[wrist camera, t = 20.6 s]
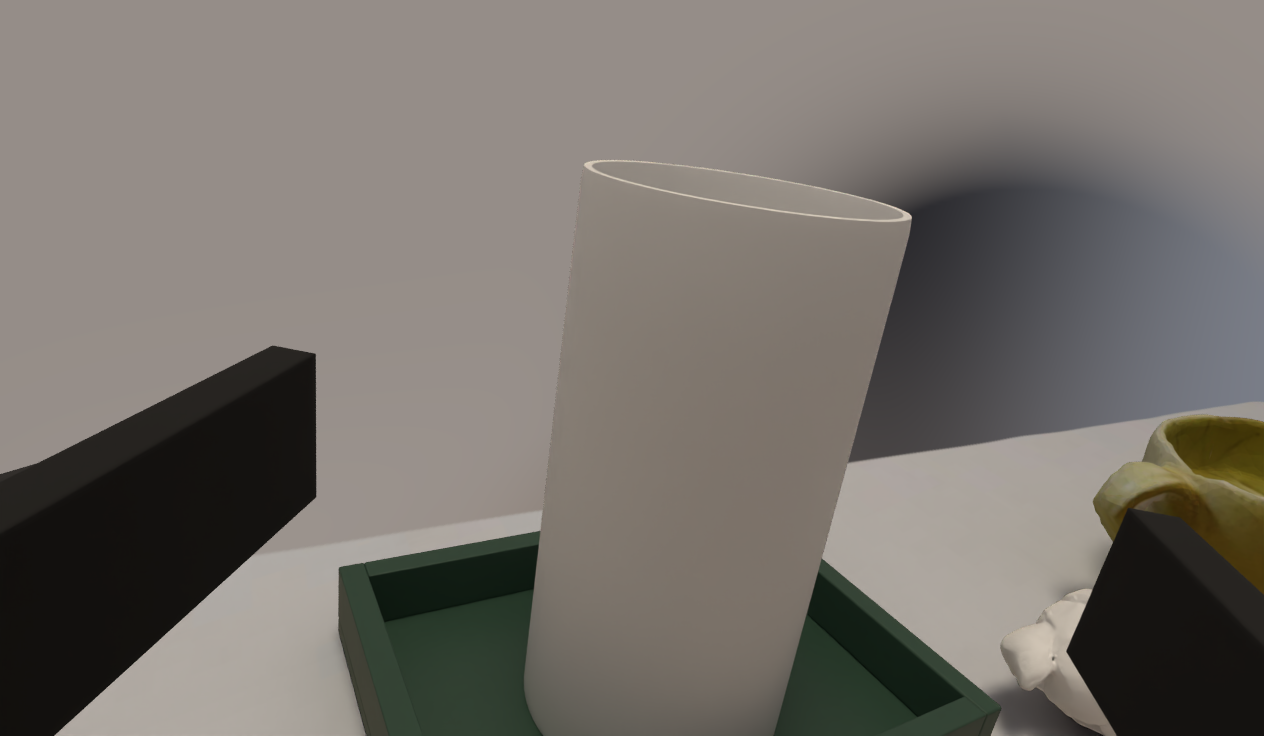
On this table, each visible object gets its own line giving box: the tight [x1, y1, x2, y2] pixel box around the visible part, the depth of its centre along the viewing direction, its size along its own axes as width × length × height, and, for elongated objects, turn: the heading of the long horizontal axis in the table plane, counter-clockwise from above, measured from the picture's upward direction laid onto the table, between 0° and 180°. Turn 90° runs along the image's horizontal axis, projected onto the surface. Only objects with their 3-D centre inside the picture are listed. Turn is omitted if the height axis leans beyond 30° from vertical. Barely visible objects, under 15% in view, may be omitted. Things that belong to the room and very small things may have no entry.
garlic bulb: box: [1000, 589, 1117, 736], centre depth 25 cm, size 6×6×5 cm
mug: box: [1093, 415, 1264, 594], centre depth 33 cm, size 12×10×10 cm
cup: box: [524, 160, 912, 736], centre depth 21 cm, size 8×8×16 cm
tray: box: [338, 531, 1001, 736], centre depth 24 cm, size 17×13×3 cm
